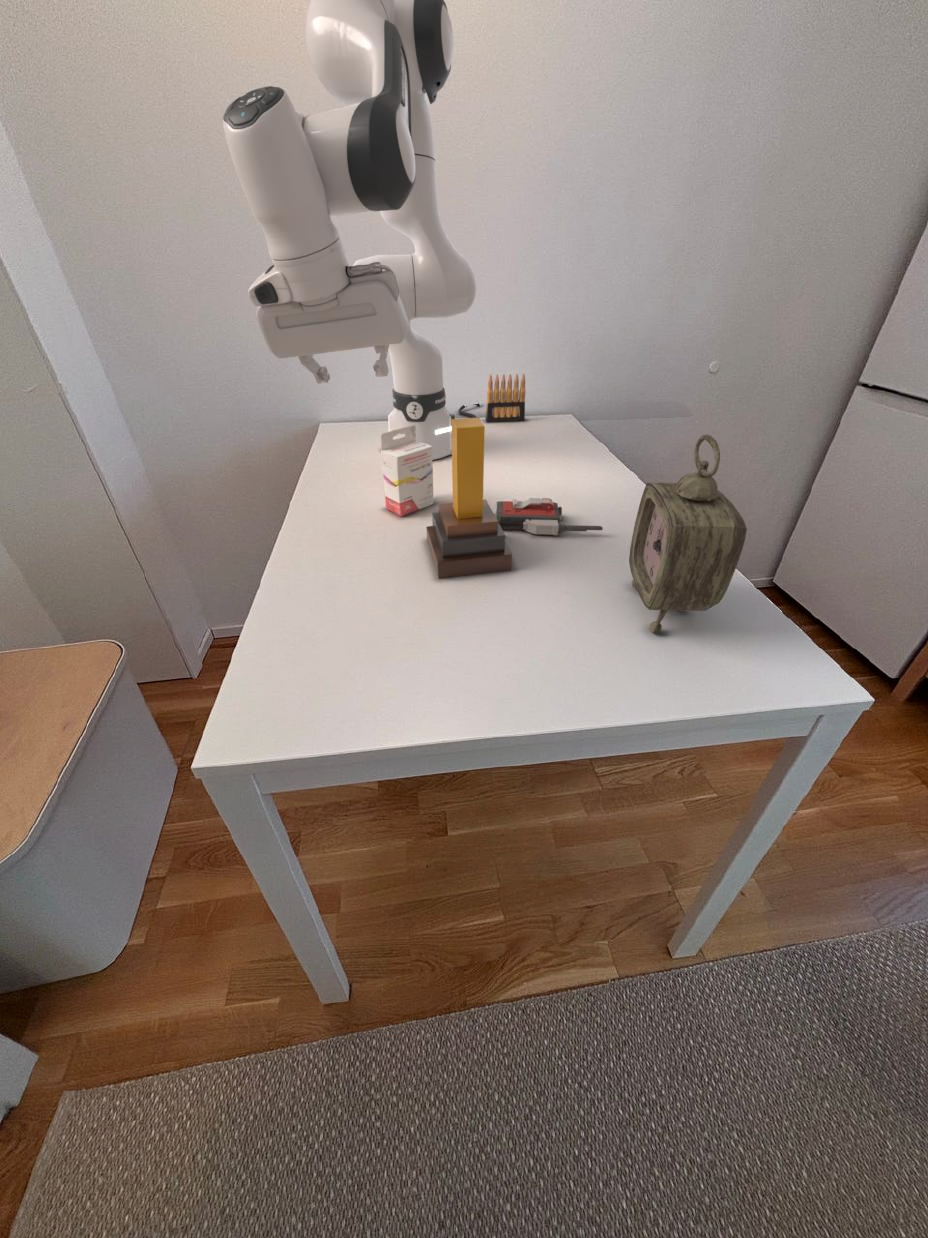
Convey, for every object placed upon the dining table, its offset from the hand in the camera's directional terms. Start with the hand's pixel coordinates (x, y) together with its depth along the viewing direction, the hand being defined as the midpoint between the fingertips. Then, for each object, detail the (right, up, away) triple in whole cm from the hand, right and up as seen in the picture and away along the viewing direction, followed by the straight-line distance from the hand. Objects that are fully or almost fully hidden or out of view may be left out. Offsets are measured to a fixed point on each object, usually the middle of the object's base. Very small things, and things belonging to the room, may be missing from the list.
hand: (353, 378), depth 76 cm
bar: (+17, -18, +6) cm, 26 cm away
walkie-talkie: (+31, -18, +20) cm, 41 cm away
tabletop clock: (+45, -34, -1) cm, 57 cm away
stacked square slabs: (+17, -25, +11) cm, 32 cm away
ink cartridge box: (+6, -14, +26) cm, 30 cm away
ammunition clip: (+28, +19, +67) cm, 75 cm away
